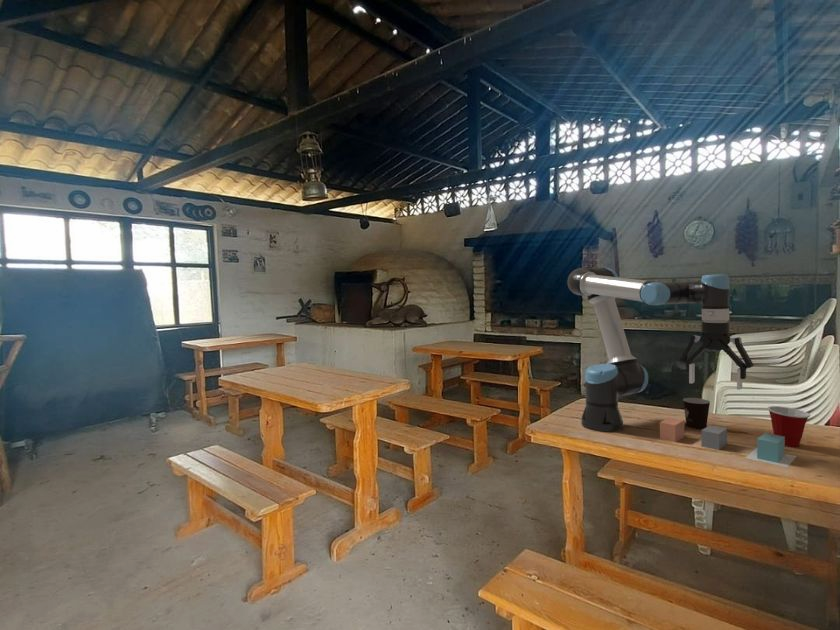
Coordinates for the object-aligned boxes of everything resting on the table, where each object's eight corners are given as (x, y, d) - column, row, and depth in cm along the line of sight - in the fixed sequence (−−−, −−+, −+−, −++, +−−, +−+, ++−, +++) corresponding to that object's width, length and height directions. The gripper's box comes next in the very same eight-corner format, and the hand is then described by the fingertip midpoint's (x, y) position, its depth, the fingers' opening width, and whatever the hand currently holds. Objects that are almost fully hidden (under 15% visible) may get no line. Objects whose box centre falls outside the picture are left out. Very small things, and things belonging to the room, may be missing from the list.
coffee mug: (710, 431, 161) (710, 404, 160) (682, 428, 165) (682, 402, 165) (709, 423, 171) (709, 397, 170) (683, 420, 175) (683, 395, 175)
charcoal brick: (701, 448, 146) (701, 430, 145) (709, 442, 151) (710, 425, 150) (718, 452, 142) (719, 433, 141) (727, 446, 147) (727, 428, 146)
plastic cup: (811, 454, 137) (812, 416, 136) (767, 447, 144) (767, 411, 143) (809, 444, 145) (809, 408, 145) (767, 438, 152) (767, 404, 152)
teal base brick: (757, 458, 134) (757, 439, 134) (764, 451, 139) (764, 432, 139) (777, 462, 130) (778, 443, 130) (784, 455, 135) (784, 436, 135)
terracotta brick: (659, 438, 156) (659, 422, 155) (669, 433, 161) (669, 417, 160) (675, 442, 152) (675, 425, 151) (684, 436, 157) (684, 420, 156)
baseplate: (745, 459, 135) (745, 457, 135) (756, 449, 142) (756, 447, 142) (786, 469, 127) (786, 467, 127) (796, 458, 135) (796, 456, 134)
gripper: (669, 321, 151) (669, 382, 152) (759, 323, 132) (758, 393, 133) (678, 319, 156) (678, 378, 157) (765, 322, 137) (764, 389, 138)
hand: (714, 385), depth 145 cm, fingers open, 13 cm apart
